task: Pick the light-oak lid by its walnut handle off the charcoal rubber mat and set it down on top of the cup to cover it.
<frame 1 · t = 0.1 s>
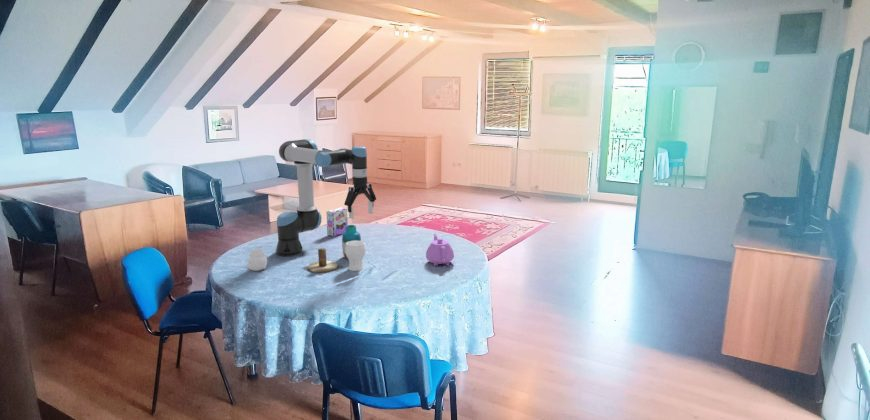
hand: (361, 215, 284), 28 cm above the table, fingers open, 13 cm apart
figurine: (258, 270, 284), on the table
lid: (322, 267, 284), point 1 cm above the table, touching mat
candy box: (337, 234, 351), on the table
cup: (356, 270, 284), on the table
mat: (322, 269, 284), on the table
teapot: (439, 262, 296), on the table
vase: (352, 258, 302), on the table
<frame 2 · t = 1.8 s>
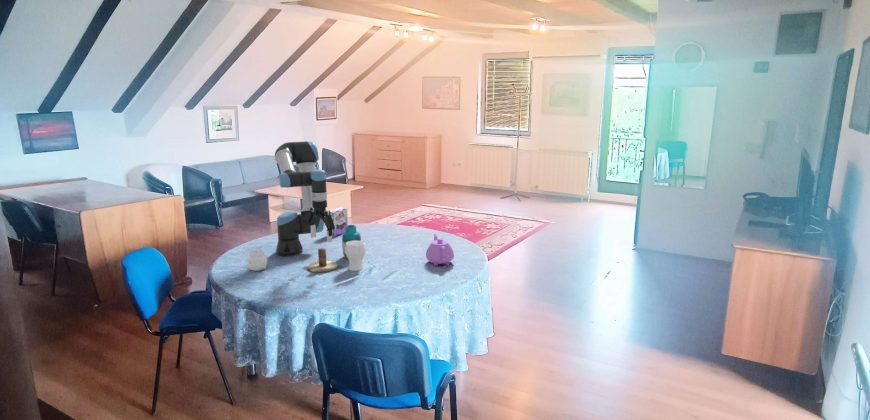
hand: (321, 239, 280), 17 cm above the table, fingers open, 13 cm apart
nothing on the table moved.
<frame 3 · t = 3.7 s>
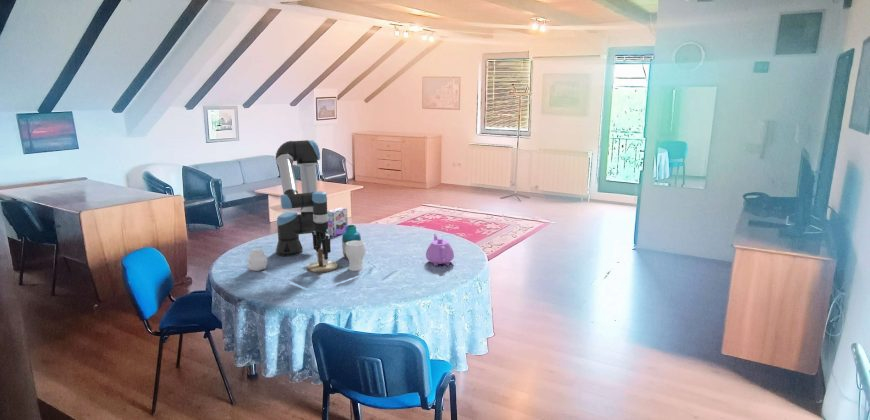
hand: (322, 263, 284), 3 cm above the table, fingers closed on lid, 4 cm apart
lid: (322, 267, 284), point 1 cm above the table, touching gripper
everything else where it was.
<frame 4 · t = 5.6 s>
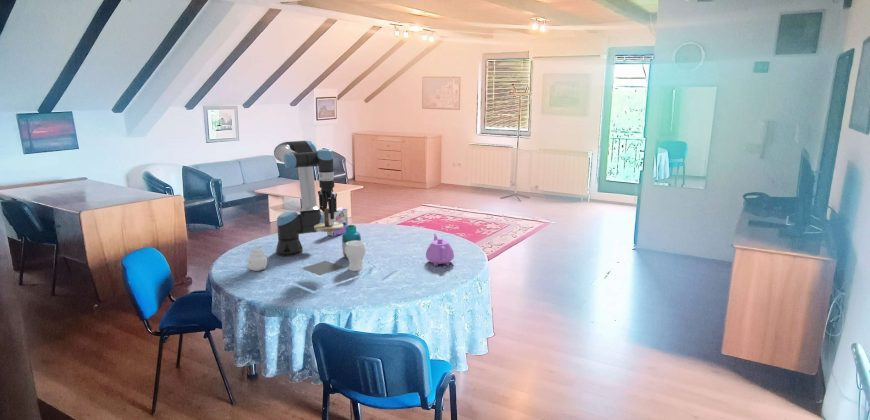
hand: (328, 224, 278), 25 cm above the table, fingers closed on lid, 4 cm apart
lid: (328, 228, 278), point 23 cm above the table, touching gripper
everything else where it was.
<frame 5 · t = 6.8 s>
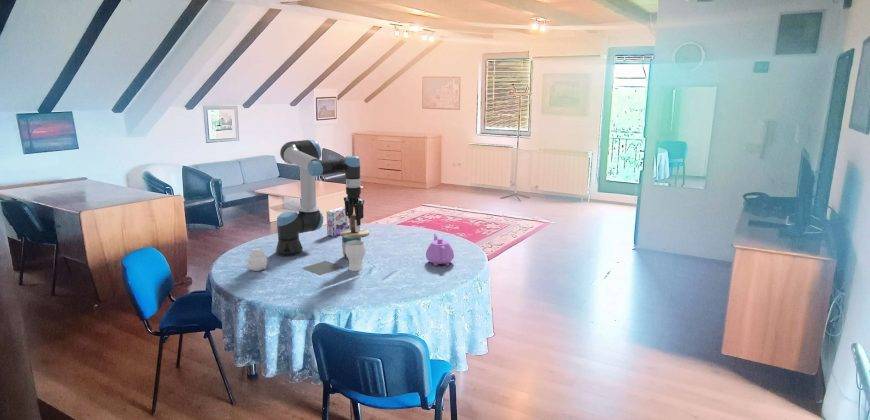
hand: (354, 230, 278), 22 cm above the table, fingers closed on lid, 4 cm apart
lid: (354, 234, 279), point 20 cm above the table, touching gripper
everything else where it was.
when the fingers open (19 cm above the table, at t = 7.4 s): lid drops 3 cm, resting on cup.
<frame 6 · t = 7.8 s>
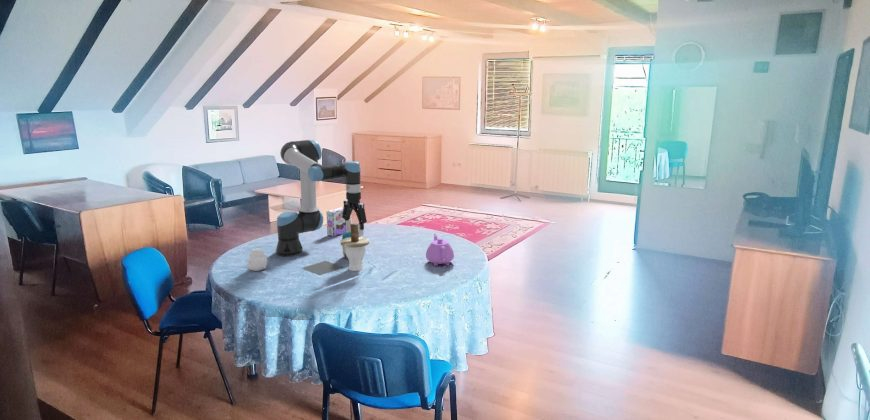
hand: (354, 233, 279), 20 cm above the table, fingers open, 9 cm apart
lid: (354, 243, 280), point 15 cm above the table, touching cup
cup: (356, 270, 284), on the table, touching lid
everything else where it was.
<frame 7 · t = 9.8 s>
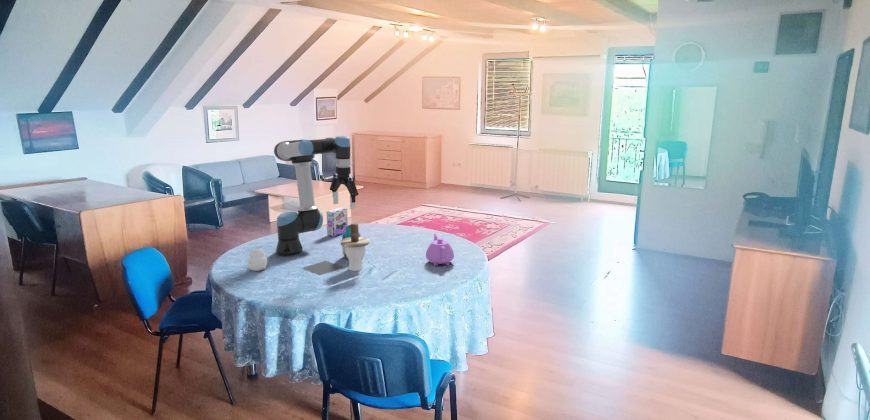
hand: (344, 206, 282), 33 cm above the table, fingers open, 13 cm apart
nothing on the table moved.
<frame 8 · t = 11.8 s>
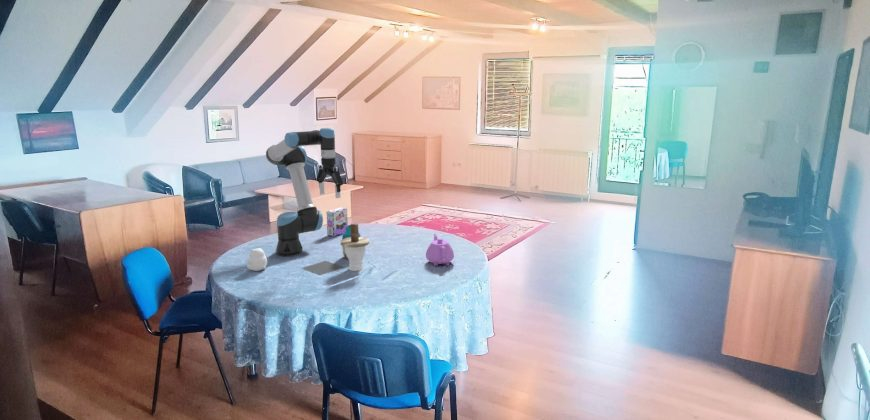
hand: (329, 196, 291), 37 cm above the table, fingers open, 13 cm apart
nothing on the table moved.
at the end: lid 0.2 cm from the cup (horizontally); lid point 15.0 cm above the table; lid tilted 0° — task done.
